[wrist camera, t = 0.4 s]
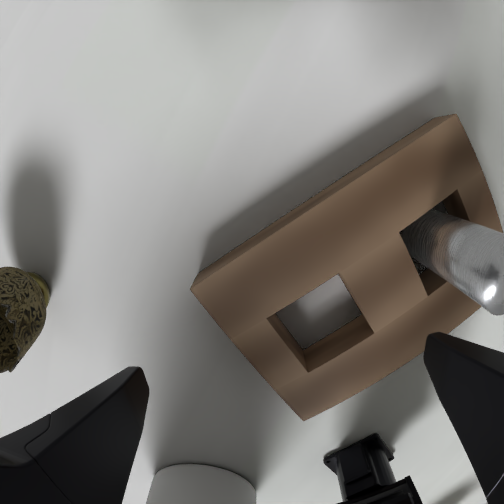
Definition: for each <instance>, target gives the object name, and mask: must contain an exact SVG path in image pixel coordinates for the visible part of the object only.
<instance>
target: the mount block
mask: <svg viewBox="0 0 504 504" xmlns="http://www.w3.org/2000/svg"><path fill="white" fill-rule="evenodd" d="M441 201H443V203H444V205H445V208H446V210H447V213H448V214H449V215H452V216H455V217H458V218H461V219H464V220H467V221H470V222H473V223H476V224H479V225H482V226H484V227H487V228H490V229H493V230H495V231H498V232H501V233H503V231H502V227H501V224H500V220H499V217H498V214H497V211H496V207H495V204H494V201H493V198H492V195H491V193H490V190H489V187H488V184H487V182H486V179H485V176H484V174H483V171H482V169H481V166H480V164H479V161H478V159H477V157H476V154H475V152H474V150H473V147H472V145H471V143H470V141H469V138H468V136H467V134H466V132H465V130H464V128H463V126H462V124H461V122H460V120H459V118H458V116H457V114H452V115H447V116H442V117H437V118H434V119H432V120H431V121H429V122H427V123H426V124H424V125H423V126H421V127H420V128H418V129H416V130H415V131H413V132H412V133H410V134H409V135H407V136H406V137H404V138H402V139H401V140H399V141H398V142H396V143H395V144H393V145H392V146H390V147H388V148H387V149H385V150H384V151H382V152H381V153H379V154H378V155H376V156H375V157H373V158H371V159H370V160H368V161H367V162H365V163H364V164H362V165H361V166H359V167H358V168H356V169H355V170H353V171H351V172H350V173H348V174H347V175H345V176H344V177H342V178H341V179H339V180H338V181H336V182H335V183H333V184H332V185H330V186H328V187H327V188H325V189H324V190H322V191H321V192H319V193H318V194H316V195H315V196H313V197H312V198H310V199H309V200H307V201H306V202H304V203H303V204H301V205H300V206H298V207H297V208H295V209H294V210H292V211H291V212H289V213H288V214H286V215H285V216H283V217H281V218H280V219H278V220H277V221H275V222H274V223H272V224H271V225H269V226H268V227H266V228H265V229H263V230H262V231H260V232H259V233H257V234H256V235H254V236H253V237H251V238H250V239H248V240H247V241H245V242H244V243H242V244H241V245H239V246H238V247H236V248H235V249H234V250H232V251H231V252H229V253H228V254H226V255H225V256H223V257H222V258H220V259H219V260H217V261H216V262H214V263H213V264H211V265H210V266H208V267H207V268H205V269H204V270H202V271H201V272H199V273H198V274H197V276H196V278H195V280H194V282H193V284H192V286H191V288H190V290H191V292H192V293H193V294H194V295H195V297H196V298H197V299H198V300H199V302H200V303H201V304H202V305H203V307H204V308H205V309H206V310H207V312H208V313H209V314H210V315H211V317H212V318H213V319H214V320H215V321H216V323H217V324H218V325H219V326H220V328H221V329H222V330H223V331H224V332H225V334H226V335H227V336H228V337H229V338H230V340H231V341H232V342H233V343H234V344H235V346H236V347H237V348H238V349H239V350H240V351H241V353H242V354H243V355H244V356H245V357H246V358H247V360H248V361H249V362H250V363H251V364H252V365H253V366H254V368H255V369H256V370H257V371H258V372H259V373H260V374H261V376H262V377H263V378H264V379H265V380H266V381H267V382H268V383H269V385H270V386H271V387H272V388H273V389H274V390H275V391H276V392H277V393H278V395H279V396H280V397H281V398H282V399H283V400H284V401H285V402H286V403H287V404H288V405H289V406H290V408H291V409H292V410H293V411H294V412H295V413H296V414H297V415H298V416H299V417H300V418H301V419H302V420H303V421H305V420H307V419H309V418H311V417H313V416H315V415H317V414H319V413H321V412H323V411H325V410H327V409H329V408H331V407H333V406H335V405H337V404H339V403H341V402H343V401H344V400H346V399H348V398H350V397H352V396H353V395H355V394H357V393H359V392H361V391H362V390H364V389H366V388H367V387H369V386H371V385H373V384H374V383H376V382H378V381H379V380H381V379H382V378H384V377H386V376H387V375H389V374H390V373H392V372H394V371H395V370H397V369H398V368H400V367H401V366H403V365H404V364H406V363H407V362H409V361H410V360H412V359H413V358H415V357H416V356H418V355H419V354H421V353H422V352H423V351H424V350H425V344H426V338H427V336H428V335H429V334H431V333H435V332H442V333H445V334H448V333H449V332H451V331H452V330H453V329H455V328H456V327H457V326H458V325H460V324H461V323H462V322H463V321H465V320H466V319H467V318H468V317H469V316H471V315H472V314H473V313H474V312H475V311H477V310H478V309H479V308H480V307H481V305H479V304H478V303H477V302H475V301H474V300H473V299H471V298H470V297H469V296H467V295H466V294H464V293H463V292H462V291H460V290H459V289H458V288H456V287H455V286H453V285H452V284H450V283H449V282H448V281H446V280H445V279H443V278H442V277H440V276H439V275H438V274H436V273H435V272H433V271H432V270H430V269H429V268H428V269H427V270H425V271H424V272H423V273H421V274H420V275H419V274H418V272H417V270H416V268H415V265H414V263H413V261H412V259H411V257H410V255H409V252H408V250H407V248H406V246H405V244H404V242H403V240H402V238H401V236H400V234H399V232H400V231H401V230H403V229H404V228H406V227H407V226H408V225H410V224H411V223H413V222H414V221H415V220H417V219H418V218H419V217H421V216H422V215H424V214H425V213H426V212H428V211H429V210H430V209H432V208H433V207H434V206H436V205H437V204H438V203H440V202H441ZM337 274H339V276H340V278H341V279H342V281H343V283H344V284H345V286H346V288H347V289H348V291H349V293H350V294H351V296H352V298H353V299H354V301H355V303H356V305H357V306H358V308H359V310H360V311H361V313H362V315H360V316H359V317H357V318H356V319H354V320H353V321H351V322H349V323H348V324H346V325H345V326H343V327H341V328H340V329H338V330H337V331H335V332H333V333H332V334H330V335H328V336H327V337H325V338H323V339H322V340H320V341H318V342H317V343H315V344H313V345H311V346H310V347H308V348H306V349H305V350H302V348H301V347H300V346H299V344H298V343H297V342H296V340H295V339H294V338H293V336H292V335H291V334H290V332H289V331H288V330H287V328H286V327H285V326H284V324H283V323H282V322H281V320H280V319H279V318H278V316H277V315H276V314H275V313H276V312H278V311H280V310H281V309H283V308H284V307H286V306H288V305H289V304H291V303H293V302H294V301H296V300H297V299H299V298H301V297H302V296H304V295H305V294H307V293H309V292H310V291H312V290H313V289H315V288H317V287H318V286H320V285H321V284H323V283H324V282H326V281H327V280H329V279H331V278H332V277H334V276H335V275H337Z"/></svg>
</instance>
